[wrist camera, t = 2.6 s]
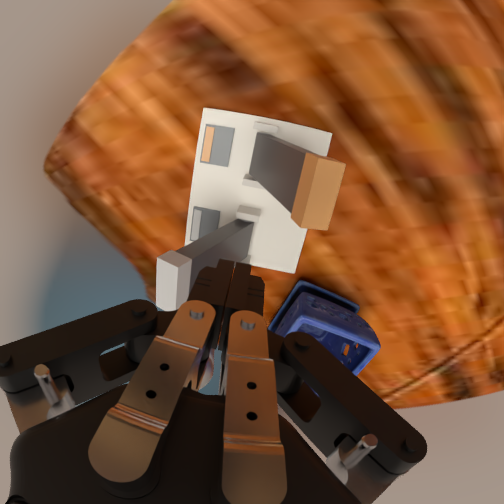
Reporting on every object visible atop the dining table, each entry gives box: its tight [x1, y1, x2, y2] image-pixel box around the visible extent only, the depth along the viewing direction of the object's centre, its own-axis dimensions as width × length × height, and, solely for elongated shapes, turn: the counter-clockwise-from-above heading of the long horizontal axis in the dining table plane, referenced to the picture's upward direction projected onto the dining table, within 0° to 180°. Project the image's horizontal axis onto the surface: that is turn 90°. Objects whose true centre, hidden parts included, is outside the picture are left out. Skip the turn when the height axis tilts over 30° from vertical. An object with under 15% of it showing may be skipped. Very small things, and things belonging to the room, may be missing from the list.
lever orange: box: [249, 132, 346, 230], centre depth 28 cm, size 2×5×16 cm, turn 169°
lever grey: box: [156, 219, 254, 311], centre depth 33 cm, size 2×5×16 cm, turn 170°
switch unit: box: [185, 108, 332, 273], centre depth 37 cm, size 16×20×5 cm
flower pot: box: [268, 280, 381, 395], centre depth 42 cm, size 13×13×12 cm
